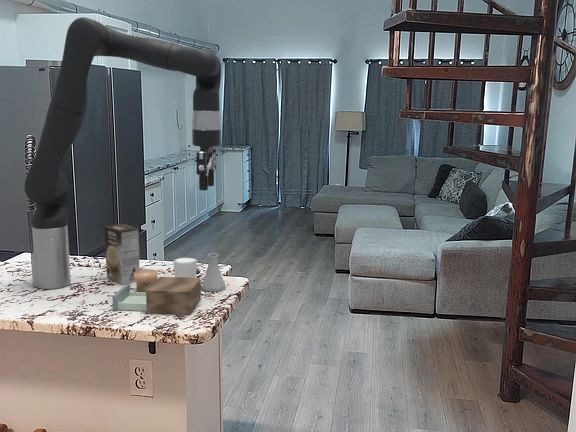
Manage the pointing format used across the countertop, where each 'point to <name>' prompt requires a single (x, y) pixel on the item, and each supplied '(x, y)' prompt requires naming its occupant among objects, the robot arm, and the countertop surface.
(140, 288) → the olive brown cube
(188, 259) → the white cup
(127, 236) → the coffee box
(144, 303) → the tray
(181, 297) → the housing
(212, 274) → the flask
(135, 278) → the coaster
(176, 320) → the countertop surface
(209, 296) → the countertop surface
